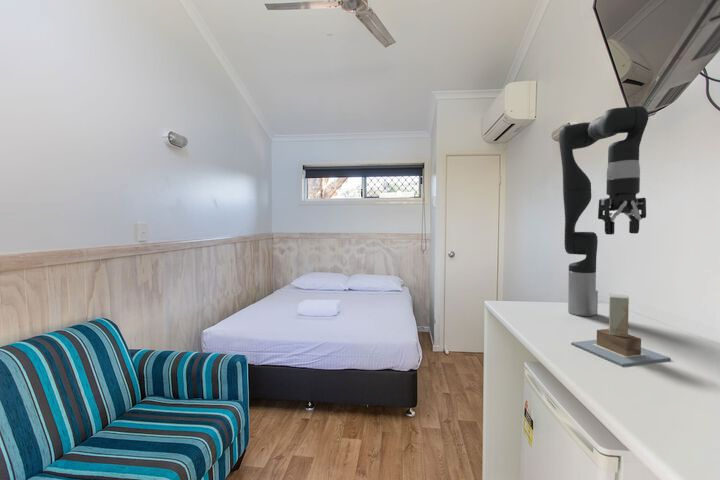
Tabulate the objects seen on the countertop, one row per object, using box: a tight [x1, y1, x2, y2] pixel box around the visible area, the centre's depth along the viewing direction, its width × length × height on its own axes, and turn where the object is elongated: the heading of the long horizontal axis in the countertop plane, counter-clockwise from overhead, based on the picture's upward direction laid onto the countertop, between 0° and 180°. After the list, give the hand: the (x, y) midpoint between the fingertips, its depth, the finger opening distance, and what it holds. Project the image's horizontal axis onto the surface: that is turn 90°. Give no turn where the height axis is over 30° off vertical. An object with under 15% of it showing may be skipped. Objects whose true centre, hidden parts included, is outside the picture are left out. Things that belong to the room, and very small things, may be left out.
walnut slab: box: [596, 328, 642, 356], centre depth 95 cm, size 5×9×4 cm, turn 11°
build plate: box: [570, 339, 672, 367], centre depth 95 cm, size 16×16×1 cm
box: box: [608, 293, 630, 337], centre depth 95 cm, size 5×4×11 cm
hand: (621, 233), depth 96 cm, fingers open, 8 cm apart
